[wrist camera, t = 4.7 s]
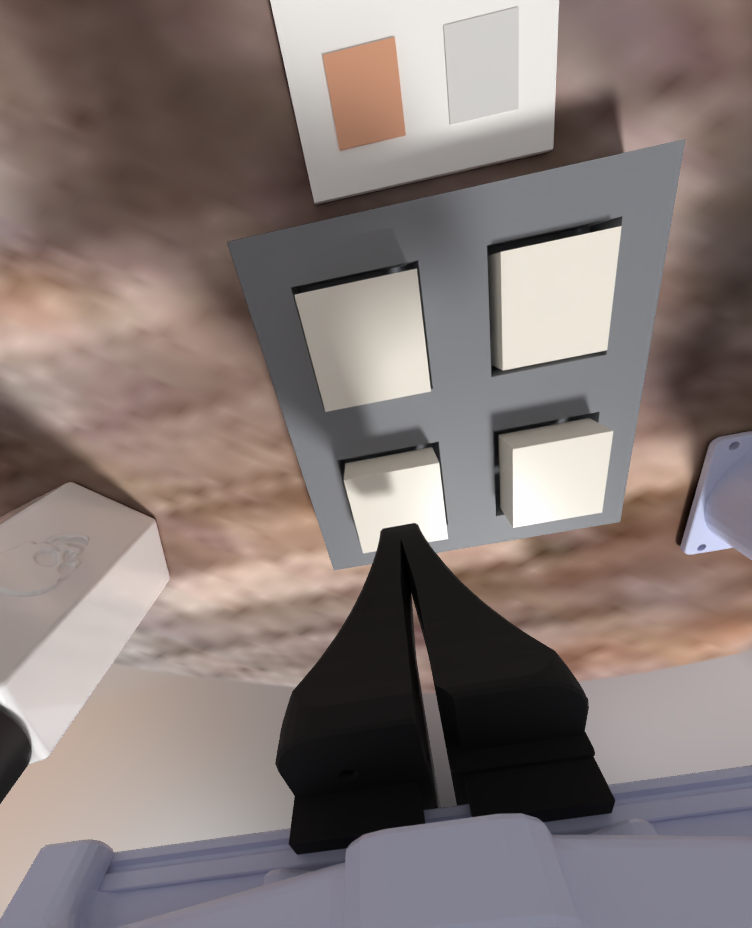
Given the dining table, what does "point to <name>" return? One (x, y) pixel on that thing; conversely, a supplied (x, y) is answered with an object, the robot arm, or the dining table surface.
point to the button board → (466, 335)
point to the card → (416, 87)
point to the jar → (66, 611)
